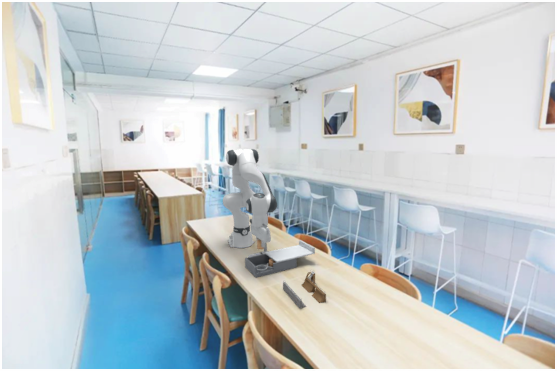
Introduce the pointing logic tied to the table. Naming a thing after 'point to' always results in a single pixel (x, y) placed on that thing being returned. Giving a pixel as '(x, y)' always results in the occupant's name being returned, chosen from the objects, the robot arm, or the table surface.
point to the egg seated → (271, 262)
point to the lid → (291, 252)
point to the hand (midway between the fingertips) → (260, 245)
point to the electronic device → (259, 252)
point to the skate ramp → (309, 287)
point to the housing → (267, 265)
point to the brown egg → (259, 244)
